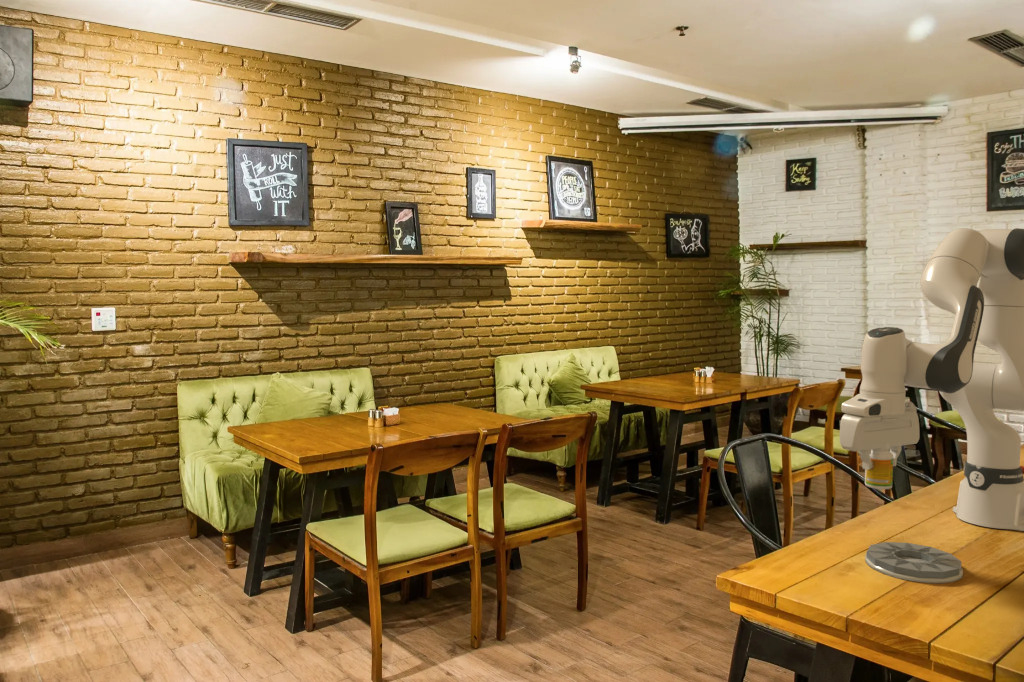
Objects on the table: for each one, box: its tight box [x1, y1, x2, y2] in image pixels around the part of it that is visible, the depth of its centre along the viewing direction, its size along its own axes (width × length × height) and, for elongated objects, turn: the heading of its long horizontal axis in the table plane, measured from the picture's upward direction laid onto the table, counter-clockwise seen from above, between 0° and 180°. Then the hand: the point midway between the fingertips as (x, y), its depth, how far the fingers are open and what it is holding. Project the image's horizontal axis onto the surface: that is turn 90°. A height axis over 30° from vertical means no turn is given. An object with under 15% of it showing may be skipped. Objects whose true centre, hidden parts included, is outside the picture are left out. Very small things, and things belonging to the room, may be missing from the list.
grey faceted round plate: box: [864, 541, 964, 584], centre depth 161 cm, size 18×18×2 cm
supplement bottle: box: [864, 444, 894, 490], centre depth 167 cm, size 5×5×10 cm
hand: (879, 467), depth 167 cm, fingers closed on supplement bottle, 5 cm apart
